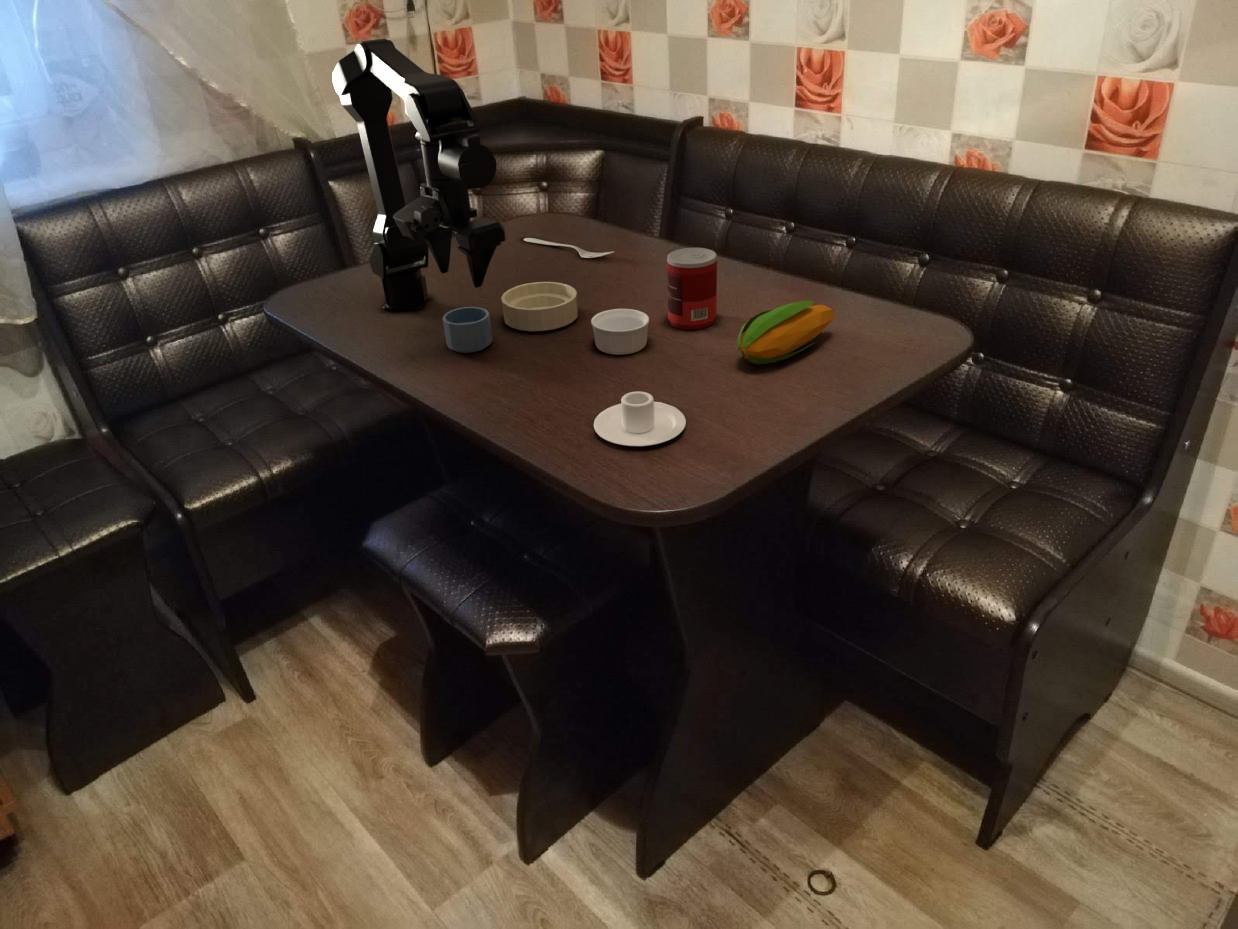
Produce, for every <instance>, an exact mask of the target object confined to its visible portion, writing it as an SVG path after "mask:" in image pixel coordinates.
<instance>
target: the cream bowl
mask: <svg viewBox="0 0 1238 929" xmlns="http://www.w3.org/2000/svg"><path fill="white" fill-rule="evenodd" d="M500 301H501V309H502V317H503V322H504V323H505V325H507V326H508V327H510V328H512V329H516V330H519V331H524V332H544V331H551V330H556V329H561V328H563V327H566V326H568V325H570V324H572V323H573V322H574V321H576V319H578V317H579V301H578V291H577V290H576V288H574V287H573V286H571V285H569V284H566V283H562V282H555V281H537V282H536V281H535V282H529V283H527V282H526V283H524V284H519V285H516V286H514V287H512V288H509V289H508V290H506V291H505V292H503V294H502V295H501V297H500Z"/></svg>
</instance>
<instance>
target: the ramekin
mask: <svg viewBox="0 0 1238 929" xmlns="http://www.w3.org/2000/svg"><path fill="white" fill-rule="evenodd" d="M590 323H591V327H592V331H593V336H594V337H593V338H594V344H595V347H596V348H597V349H598V350H599V351H601V352H602V353H605V354H608V355H615V356H616V355H617V356H623V355H624V356H625V355H630V354H634V353H637V352H640V351H641V350H643V349H644V348H645V347H646V345H647V342H648V331H649V330H648V329H649V323H650V317H649V315H648V314H647V313H645V312H643V311H641V310H637V309H632V308H614V309H608V310H603V311H601V312H598V313H596V314H595V315H593V317H592V318H591V320H590Z"/></svg>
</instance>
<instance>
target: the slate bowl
mask: <svg viewBox="0 0 1238 929" xmlns="http://www.w3.org/2000/svg"><path fill="white" fill-rule="evenodd" d="M442 323H443V324H442V325H443V330H444V337H445V343H446V346H447V348H448V349H450V350H452V351H453V352H456V353H462V354H470V353H476V352H481V351H482V350H485V349H486V348H487V347H489V346H490V345H491V344H492V342H493V340H494V339H493V333H492V324H491V316H490V312H489V311H488V309H486V308H484V307H478V306H464V307H458V308H455V309H451V310H449V311H447V312H446V313H444V314H443V316H442Z"/></svg>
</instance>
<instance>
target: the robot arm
mask: <svg viewBox="0 0 1238 929" xmlns="http://www.w3.org/2000/svg"><path fill="white" fill-rule="evenodd" d="M395 46H396V45H395V44H394V42H393V41H392V40H391V39H387V38H384V37H383V38H377V39H369V40H361V41H360V42H359V43H357V44H356V45H355V47H354V49H353V50H352V51H350V52H349V53H348V54H346V55H345V56H343V57H342V58H340V59H339V60H338V61H337V63H336V65H335V67H334V69H333V71H332V75H331V76H332V77H331V78H332V84H333V88H334V90H335V93H336V94H337V95H338V96H339V100H340V103H341V106H342V107H343V109H344V110H345V111H346V112H347V113H348V114H349V116H350V117H351V118H352V119H353V120H354V121H355V122H356V125H357V126H356V127H357V130H358V133H359V138H360V143H361V146H362V151H363V156H364V159H365V164H366V168H367V172H368V175H369V176H368V177H369V180H370V184H371V190H372V192H373V197H374V202H375V205H376V210H377V218H376V220H375V223H374V226H373V230H372V236H373V243H374V244H373V246H372V250H371V253H370V256H369V259H368V262H369V265H370V268H371V271H372V273H373V274H375V275H376V276H378V277H379V278H380V280H381V285H382V289H383V295H384V299H385V304H384V306H383V307H382V308H383V311H418V310H421V309H422V307H423V306H424V305H425V302H426V301H427V300H428V298H429V292H428V288H427V287H428V286H427V280H426V275H425V274H422V269H427V268H429V250H430V252H431V255H432V257H433V259H434V262H435V264H436V266H437V267H438V270H439V272H440V273H441V274H446V273H449V268H450V262H451V251H452V250H451V249H452V237H453V232H454V236H455V241H456V242H457V244H458V245H459V246H456V248H457V250H459V251H460V252H461V253H462V254H464V255H465V257H466V260H467V264H468V269H469V273H470V277H471V281H472V284H473V287H474V288H476V289H479V288H481V287H482V286H483V283H484V281H485V278H486V275H487V273H488V269H489V266H490V263H491V261H492V259H493V256H494V255H495V252H496V250H497V248H498V247H499V246H501V244H502V243H503V242H506V239H507V237H506V229H505V226H504V224H502V223H500V222H499V221H497V220H494V219H492V218H488V217H481V218H477V219H475V220H471V219H473V218H476V217H478V210H477V209H476V208H473V207H471V201H470V192H469V190H472V189H474V190H481V189H484V188H486V187H487V186H489V185H490V184H491V183H492V181H493V180H494V178H495V176H496V173H497V160H496V158H495V156H494V154H493V152H492V151H491V149H489V147H487V146H486V145H483V144H482V143H481V137H480V135H479V134H480V132H481V131H480V127H479V125H478V120H479V118H478V117H477V116H476V112H474V110H473V107H472V106H471V104H470V103H469V101H468V99H467V97H466V94H465V92H464V90H463V89H462V87H461V86H460V84H458V82H457V81H456V80H454V79H453V78H451V77H448V76H446V75H443V74H439V73H430V72H427V71H425V70H424V69H422V68H421V67H420V66H419V65H417V64H416V63H415V62H413V60H411V59H410V58H409V57H408V56H406V55H405V54H404V53H403V52H401V51H400V50H399V49H397V48H396V47H395ZM393 93H395V94H396V95H397V96H398V97H399V98H400V99H402V101H403V102H404V113H405V115H406V116H407V117H408V119H409V120H410V122H411V123H412V125H413V127H414V128H415V129H416V134H415V135H414V136H415V139H416V140H418V141H420V147H421V154H422V160H423V161H422V162H423V166H424V167H423V168H424V173H425V179H426V180H425V181H426V182H423V183H421V184H420V187H419V191H420V196H419V197H417V198H415V199H413V200H412V201H410V202H409V203H407V202H406V199H405V194H404V190H403V185H402V180H401V176H400V171H399V167H398V162H397V158H396V153H395V149H394V145H393V140H392V134H391V131H390V127H389V123H388V116H389V112H390V109H391V105H392V103H393V98H394V97H393ZM461 121H462V122H461ZM478 133H479V134H478Z"/></svg>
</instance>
